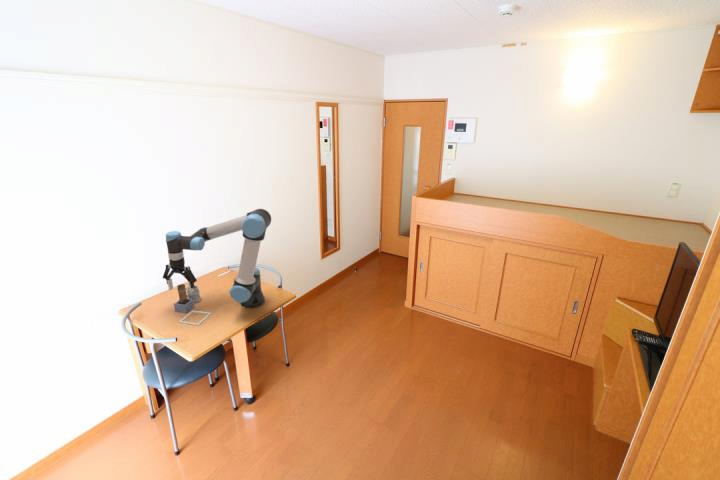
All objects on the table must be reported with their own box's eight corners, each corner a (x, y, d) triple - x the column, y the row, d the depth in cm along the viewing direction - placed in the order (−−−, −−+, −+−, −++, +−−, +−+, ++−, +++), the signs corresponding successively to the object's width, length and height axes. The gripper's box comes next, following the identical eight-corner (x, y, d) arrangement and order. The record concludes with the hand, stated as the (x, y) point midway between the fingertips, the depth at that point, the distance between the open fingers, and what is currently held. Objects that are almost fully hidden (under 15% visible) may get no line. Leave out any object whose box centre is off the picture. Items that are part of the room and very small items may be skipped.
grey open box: (194, 307, 204) (193, 299, 202) (186, 314, 197) (185, 305, 195) (183, 306, 205) (182, 297, 203) (175, 312, 198) (173, 304, 196)
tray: (211, 315, 197) (211, 313, 197) (198, 327, 186) (198, 324, 186) (193, 312, 199) (192, 310, 199) (179, 324, 188) (179, 321, 187)
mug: (197, 304, 207) (195, 287, 203) (178, 303, 207) (175, 286, 203) (203, 298, 214) (201, 282, 210) (185, 297, 214) (182, 281, 210)
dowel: (190, 307, 202) (186, 284, 197) (185, 311, 198) (181, 287, 193) (184, 306, 203) (180, 283, 197) (179, 310, 199) (175, 286, 193)
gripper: (200, 258, 190) (204, 290, 198) (161, 252, 194) (167, 284, 201) (192, 263, 183) (196, 297, 191) (152, 257, 187) (157, 290, 195)
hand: (181, 290), depth 196 cm, fingers open, 13 cm apart
